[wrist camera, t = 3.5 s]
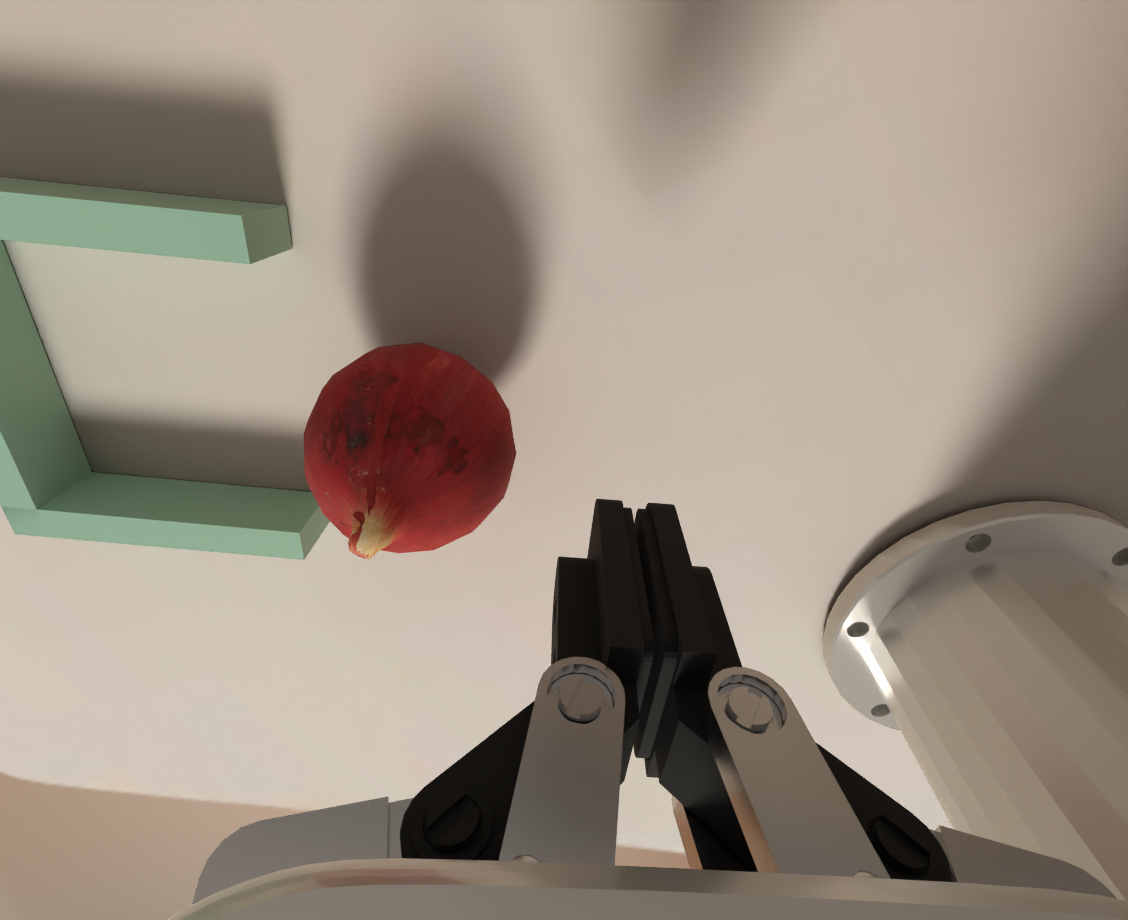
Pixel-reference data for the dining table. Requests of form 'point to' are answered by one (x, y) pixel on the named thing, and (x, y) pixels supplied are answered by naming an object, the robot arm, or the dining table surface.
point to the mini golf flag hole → (41, 419)
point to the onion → (408, 449)
